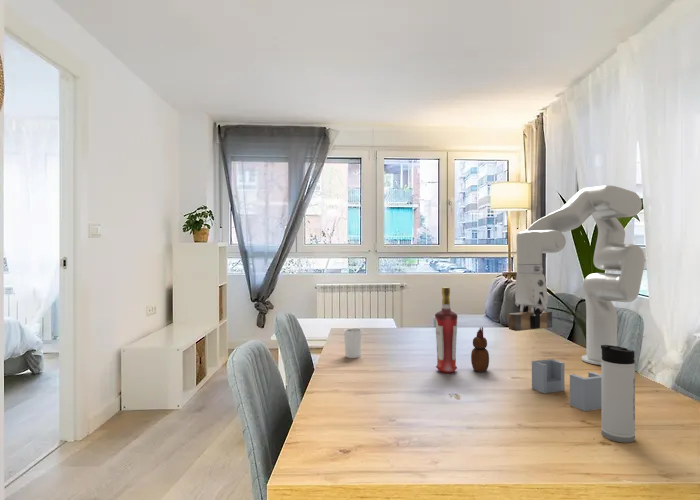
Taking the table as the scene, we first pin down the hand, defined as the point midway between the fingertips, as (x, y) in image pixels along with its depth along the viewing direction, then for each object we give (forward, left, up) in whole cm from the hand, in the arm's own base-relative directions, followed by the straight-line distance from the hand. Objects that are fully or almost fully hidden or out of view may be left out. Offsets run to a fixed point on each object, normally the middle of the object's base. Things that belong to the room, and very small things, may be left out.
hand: (530, 326), depth 142 cm
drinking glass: (+45, -44, -16) cm, 65 cm away
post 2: (+4, +27, -16) cm, 31 cm away
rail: (0, 0, -1) cm, 1 cm away
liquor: (+22, -14, -16) cm, 31 cm away
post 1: (+4, +12, -16) cm, 21 cm away
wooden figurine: (+11, -11, -16) cm, 23 cm away
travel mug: (+13, +43, -16) cm, 48 cm away
